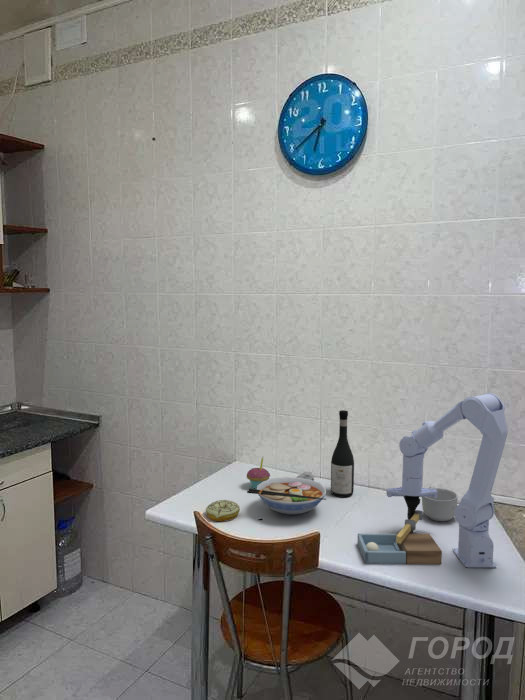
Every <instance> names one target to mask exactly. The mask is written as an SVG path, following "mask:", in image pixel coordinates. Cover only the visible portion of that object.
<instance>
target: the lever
mask: <svg viewBox="0 0 525 700" xmlns="http://www.w3.org/2000/svg"><path fill="white" fill-rule="evenodd" d="M422 520H423V510H417V509H416V510H415V512H414V515H413V516H412V518H411V519H408V518H407V519H405V520H404V526H403V527H402V529H401V530H400V531H399V532H398V535H397V534H396V543H400V544H401V543H402V541H403V540H404V539H405V537H406V536H407V535H408V534H409V532H410V531H414V532H415V531H416V527H417V523H418V522H419V521H422Z"/></svg>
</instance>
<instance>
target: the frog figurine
mask: <svg viewBox="0 0 525 700" xmlns="http://www.w3.org/2000/svg"><path fill="white" fill-rule="evenodd" d="M296 477H298V478H304V479H310V480H313V481H315V476H314V475H313V473H312V471H304V472H302V473H300V474H298V475H297V476H296Z"/></svg>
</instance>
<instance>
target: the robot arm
mask: <svg viewBox="0 0 525 700" xmlns="http://www.w3.org/2000/svg"><path fill="white" fill-rule="evenodd" d="M505 410H506V405H505V404H504V403H503V401H502V400H501V399H500V398H499V396H498V395H497V394H495V393H492V392H487V393H486V392H485V393H484V394H480V395H475V396H467V397H466V398H464V399H463V400H461V401H459V402H457V404H455V405H454V406H453V407H452V408H451V409H449V410H448V411H447V412H446V413H445V414H443V415H442V416H441V417H440V418H438V419H437V420H436V421H435V420H427V421H423V422H422V423H421V425H422V426H420V427H419V428H418V429H417V430H416V429H415V430H412V431H411V435H406V436H405V435H404V436H403V437H402V438H401V439H400V440H399V443H398V444H399V446H398V447H399V450H400V452H401V453H402V475H401V476H402V478H401V479H402V480H401V481H402V483H401V486H400V487H392V488H391V487H389V488H386V496H387V498H392V497H403V500H404V502H405V504H406V506H407V513H406V514H407V519H411V518H412V516H413V515H414V512H415V510H417V508H418V506H419V505H420V504H421V499H420V497H421V498H422V497H434V498H437V490H436V489H429V487H428V488H425V487H423V480H424V479H423V477H424V475H423V474H424V458H425V454H426V453H427V451H428V449H429V448H430V447H432V446H433V445H434V444H435V443H437V442H438V441H441V439H443V437H444V432H445V431H446V430H448V429H450V428H451V427H453V426H454V425H455V424H457V423H459V422H460V421H462V420H467V421H468V422H470V423H471V424H472V425H473V426H474V427H475V428H476V429H477V430H479V432H480V433H481V434H482V438H481V442H480V445H479V448H478V453H477V457H476V461H475V464H474V468H473V470H472V471H473V472H472V474H471V475H472V476H471V479H470V483H469V486H468V490H466V492H465V494H463V496H462V497H461V500H460V503H459V504H457V507H456V508H455V512H454V514H455V516H454V518H455V520H456V523H457V524H458V542H457V543H458V544H457V545H458V547H453V548H452V551H453V553H454V554H455V555H456V557H457V558H458V559H459V561H460V562H461V563H462V565H463V566H464V567H465V568H497V565H496V564H495V562H494V542H493V540H492V538H491V537H490V534H489V531H490V530H489V529H490V528H489V527H490V520H491V519H492V518H493V517H494V515H495V508H494V502H495V498H494V496H493V495H492V491H493V487H494V484H495V480H496V477H497V474H498V470H499V466H500V462H501V459H502V457H503V452H504V448H505V444H506V441H507V439H508V433H509V432H508V426H507V422H506V417H505Z"/></svg>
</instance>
